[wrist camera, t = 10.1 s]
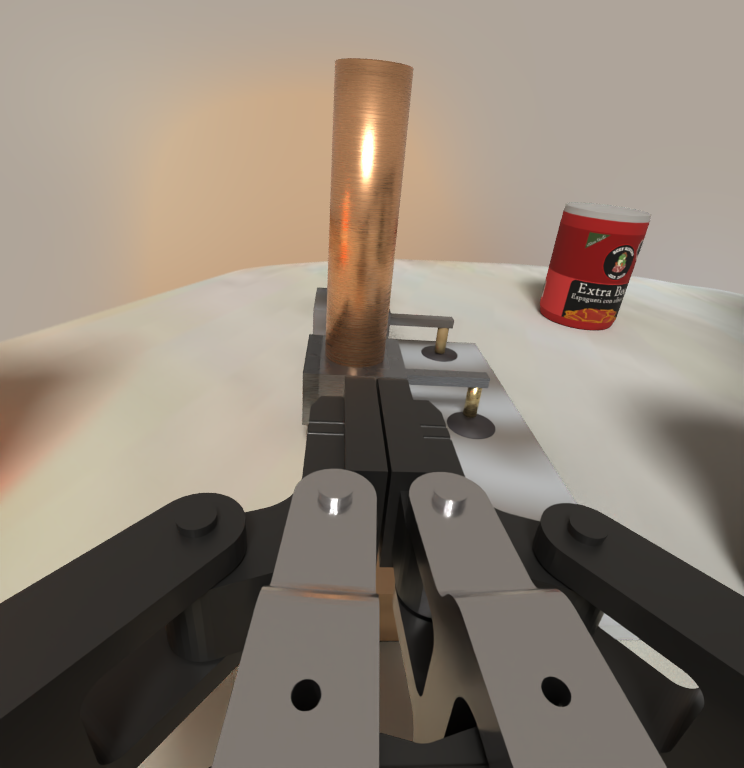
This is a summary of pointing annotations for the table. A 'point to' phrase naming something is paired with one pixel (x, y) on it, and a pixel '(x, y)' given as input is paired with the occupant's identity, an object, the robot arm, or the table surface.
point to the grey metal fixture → (474, 441)
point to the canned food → (592, 264)
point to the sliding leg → (367, 238)
